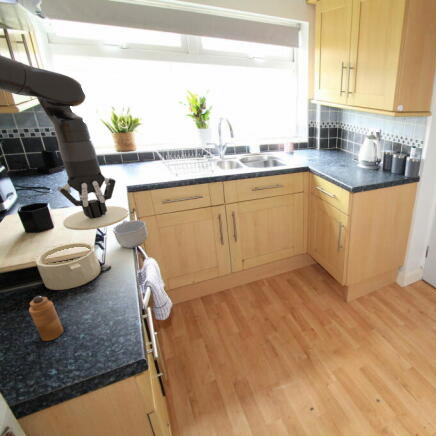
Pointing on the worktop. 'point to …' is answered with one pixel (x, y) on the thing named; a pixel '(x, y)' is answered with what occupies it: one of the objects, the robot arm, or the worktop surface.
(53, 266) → the pot
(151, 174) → the worktop surface
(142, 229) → the teacup
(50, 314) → the pepper mill
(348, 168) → the worktop surface
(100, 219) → the pot lid
